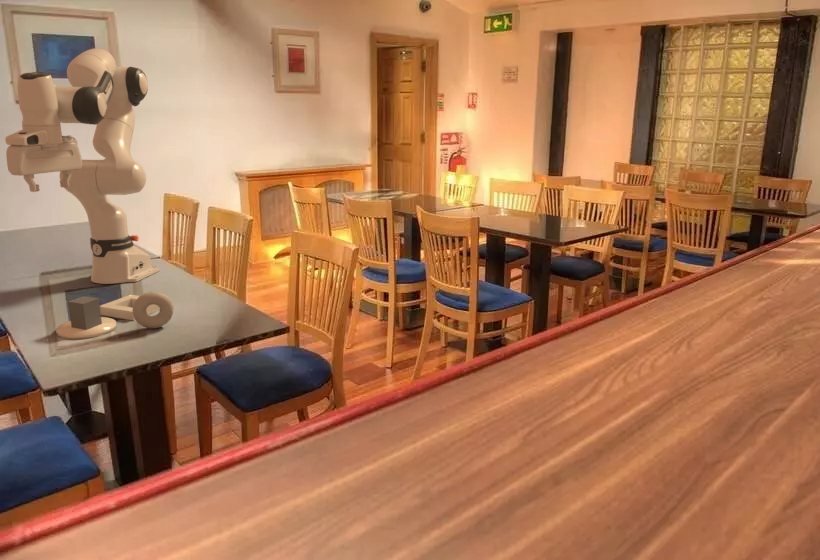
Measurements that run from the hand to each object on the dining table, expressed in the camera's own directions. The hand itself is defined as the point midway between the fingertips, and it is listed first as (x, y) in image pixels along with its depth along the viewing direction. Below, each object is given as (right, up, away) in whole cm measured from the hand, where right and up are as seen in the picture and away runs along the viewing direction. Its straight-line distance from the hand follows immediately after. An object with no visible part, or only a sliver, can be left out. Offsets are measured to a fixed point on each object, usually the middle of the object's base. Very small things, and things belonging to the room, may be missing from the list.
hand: (50, 189), depth 171 cm
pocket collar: (+18, -33, +9) cm, 39 cm away
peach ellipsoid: (+13, -37, -6) cm, 40 cm away
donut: (+30, -37, -4) cm, 48 cm away
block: (+13, -36, -6) cm, 39 cm away
